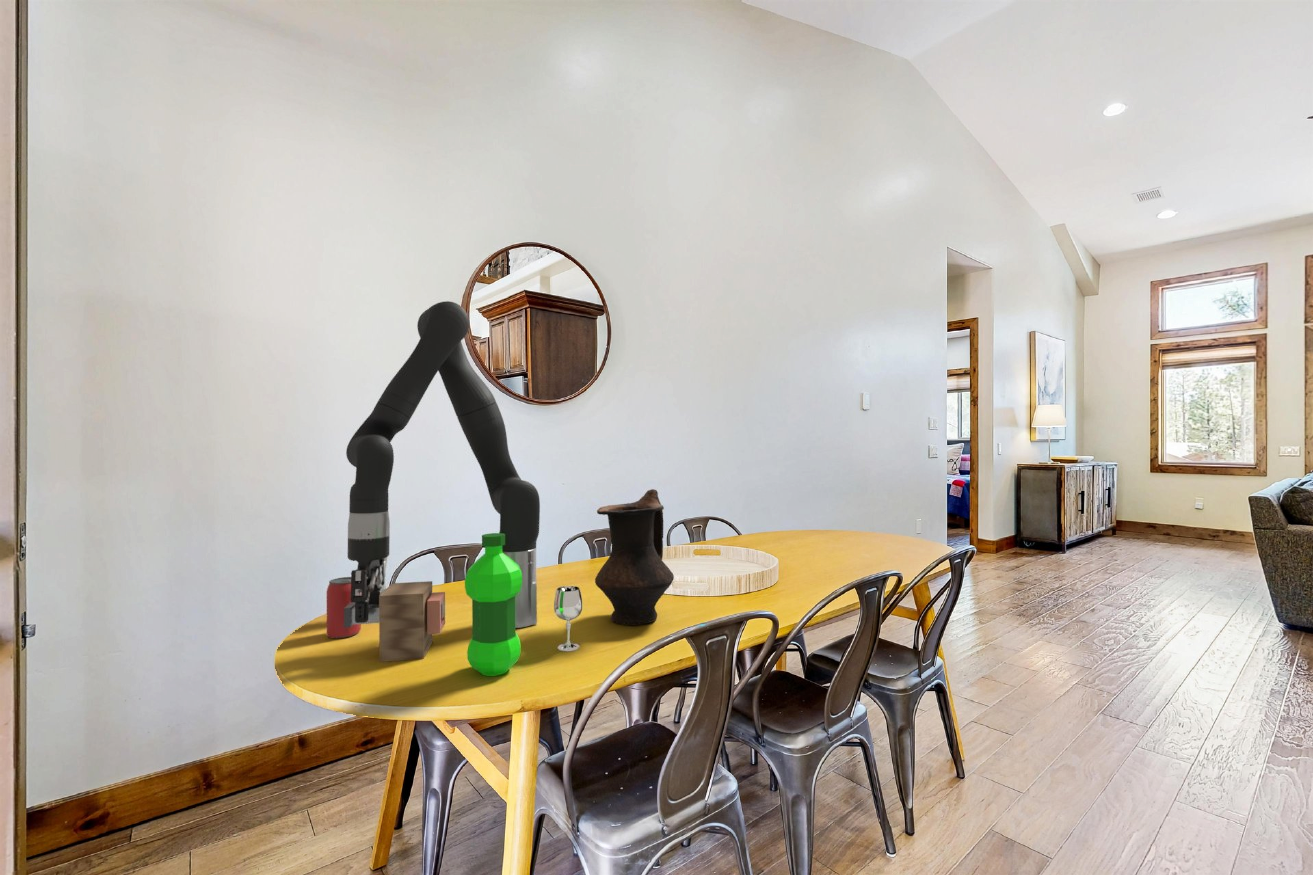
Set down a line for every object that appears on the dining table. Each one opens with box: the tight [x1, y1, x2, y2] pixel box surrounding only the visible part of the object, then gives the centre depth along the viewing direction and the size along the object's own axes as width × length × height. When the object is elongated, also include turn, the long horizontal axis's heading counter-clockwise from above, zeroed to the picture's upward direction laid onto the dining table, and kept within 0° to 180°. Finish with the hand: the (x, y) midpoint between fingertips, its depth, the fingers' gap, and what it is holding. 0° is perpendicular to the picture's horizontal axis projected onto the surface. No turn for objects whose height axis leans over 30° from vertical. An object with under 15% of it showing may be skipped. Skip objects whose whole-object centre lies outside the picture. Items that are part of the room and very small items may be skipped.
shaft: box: [344, 599, 446, 628], centre depth 118 cm, size 18×4×4 cm, turn 101°
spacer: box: [427, 591, 446, 635], centre depth 119 cm, size 2×7×7 cm, turn 12°
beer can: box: [326, 576, 362, 639], centre depth 129 cm, size 7×7×12 cm
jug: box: [594, 488, 675, 626], centre depth 139 cm, size 21×18×30 cm
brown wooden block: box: [378, 580, 434, 663], centre depth 118 cm, size 8×10×13 cm
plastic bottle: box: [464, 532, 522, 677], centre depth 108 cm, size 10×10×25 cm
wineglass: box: [553, 585, 583, 652], centre depth 120 cm, size 6×6×12 cm
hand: (368, 615), depth 117 cm, fingers open, 8 cm apart
